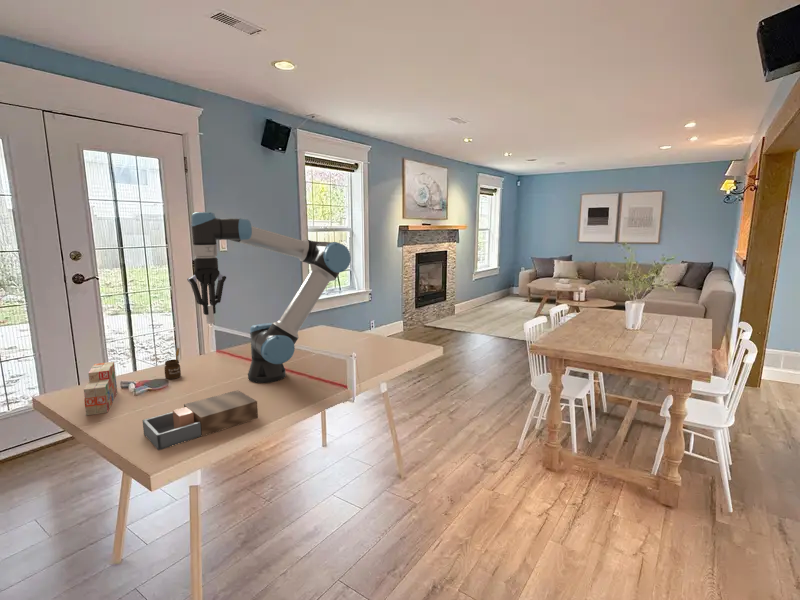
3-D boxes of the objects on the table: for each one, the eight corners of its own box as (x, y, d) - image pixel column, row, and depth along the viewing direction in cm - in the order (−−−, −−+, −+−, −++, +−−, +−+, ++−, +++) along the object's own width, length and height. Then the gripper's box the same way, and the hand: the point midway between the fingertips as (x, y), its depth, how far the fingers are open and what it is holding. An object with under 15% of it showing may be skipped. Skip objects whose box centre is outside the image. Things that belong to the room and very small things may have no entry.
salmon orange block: (186, 406, 136) (172, 410, 133) (193, 412, 132) (179, 416, 129) (187, 424, 137) (174, 428, 134) (194, 430, 133) (180, 435, 130)
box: (184, 422, 140) (183, 408, 139) (201, 436, 130) (200, 422, 130) (143, 433, 132) (142, 420, 131) (158, 450, 122) (157, 435, 121)
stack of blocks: (108, 412, 147) (104, 378, 145) (85, 416, 145) (81, 380, 143) (117, 391, 166) (114, 361, 164) (98, 394, 164) (94, 363, 162)
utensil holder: (162, 377, 182) (159, 350, 180) (176, 373, 187) (174, 346, 185) (169, 380, 179) (167, 352, 177) (184, 376, 184) (182, 348, 182)
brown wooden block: (239, 406, 153) (238, 390, 152) (258, 418, 143) (257, 401, 142) (185, 421, 140) (183, 404, 139) (202, 436, 130) (200, 417, 129)
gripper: (190, 258, 144) (195, 327, 148) (228, 256, 153) (232, 322, 157) (182, 257, 150) (187, 324, 153) (219, 255, 159) (223, 319, 162)
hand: (210, 323), depth 155 cm, fingers closed
